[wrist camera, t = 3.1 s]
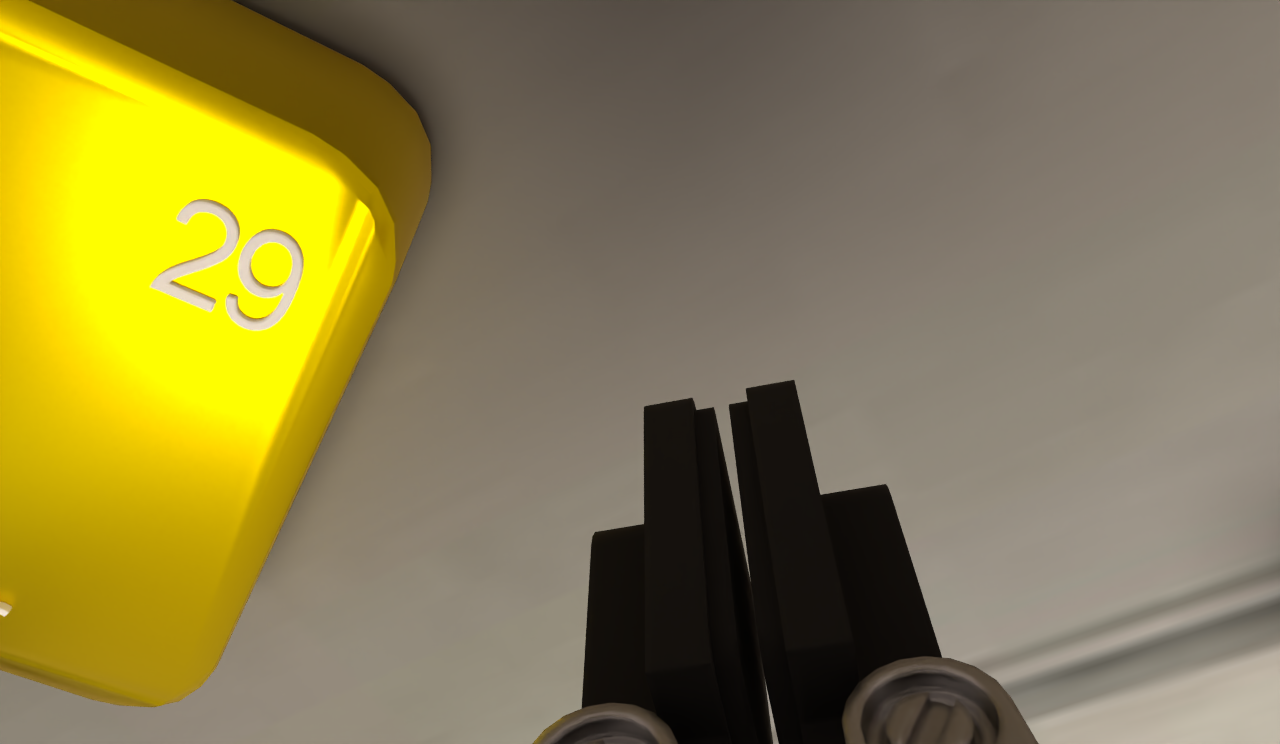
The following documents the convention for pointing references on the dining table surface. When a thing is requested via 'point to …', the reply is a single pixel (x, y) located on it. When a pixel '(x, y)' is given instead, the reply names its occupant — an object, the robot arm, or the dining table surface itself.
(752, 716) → the robot arm
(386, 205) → the element tile
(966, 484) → the dining table surface
